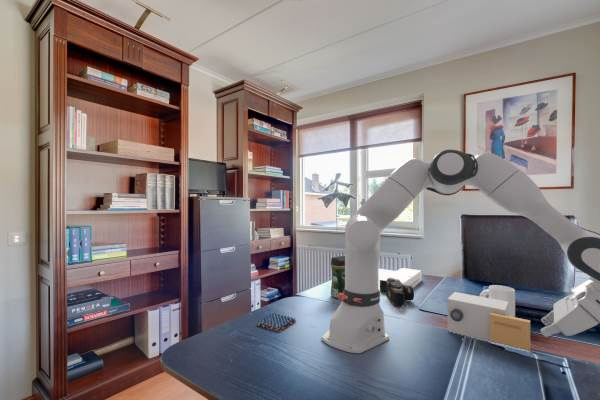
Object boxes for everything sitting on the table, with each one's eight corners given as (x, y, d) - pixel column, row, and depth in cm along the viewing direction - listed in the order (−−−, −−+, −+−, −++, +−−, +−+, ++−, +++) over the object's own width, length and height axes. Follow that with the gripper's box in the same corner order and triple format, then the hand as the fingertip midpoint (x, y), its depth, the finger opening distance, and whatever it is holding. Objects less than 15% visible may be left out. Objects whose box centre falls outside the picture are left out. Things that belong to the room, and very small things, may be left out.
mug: (485, 311, 117) (485, 281, 117) (519, 322, 106) (519, 289, 106) (473, 315, 113) (473, 284, 113) (507, 326, 102) (507, 292, 102)
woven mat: (280, 334, 97) (280, 328, 97) (256, 326, 103) (256, 321, 103) (297, 323, 106) (297, 317, 106) (274, 317, 112) (274, 311, 112)
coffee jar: (344, 292, 141) (344, 254, 141) (355, 297, 134) (355, 256, 134) (327, 295, 136) (327, 255, 136) (338, 300, 129) (338, 258, 129)
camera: (419, 308, 120) (419, 284, 120) (393, 308, 120) (393, 284, 120) (406, 296, 136) (406, 274, 136) (384, 296, 136) (384, 274, 136)
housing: (504, 348, 87) (504, 311, 87) (446, 333, 97) (446, 300, 97) (508, 335, 96) (508, 301, 96) (454, 322, 106) (454, 291, 106)
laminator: (402, 297, 135) (402, 283, 136) (377, 292, 143) (377, 279, 143) (421, 281, 163) (421, 270, 163) (399, 278, 170) (399, 267, 170)
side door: (530, 355, 82) (529, 322, 82) (489, 344, 88) (489, 314, 88) (530, 351, 84) (530, 320, 84) (491, 341, 90) (491, 312, 90)
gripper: (578, 282, 84) (534, 307, 90) (584, 299, 68) (530, 329, 75) (600, 301, 81) (553, 326, 87) (612, 323, 65) (553, 352, 72)
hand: (542, 327), depth 81 cm, fingers open, 8 cm apart
